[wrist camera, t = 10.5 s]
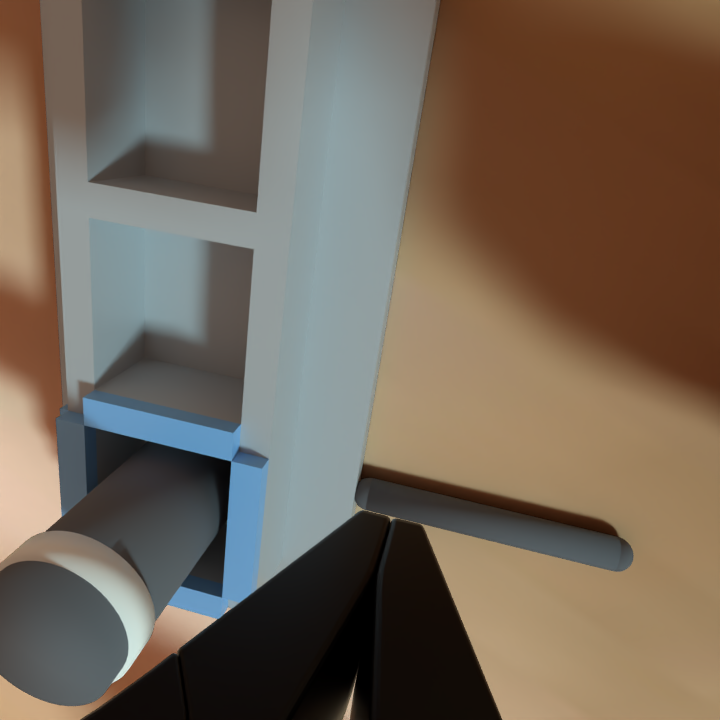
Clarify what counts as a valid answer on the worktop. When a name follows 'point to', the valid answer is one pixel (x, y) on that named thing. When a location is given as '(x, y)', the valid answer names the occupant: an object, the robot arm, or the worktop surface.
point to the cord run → (494, 524)
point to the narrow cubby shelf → (230, 248)
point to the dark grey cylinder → (107, 573)
